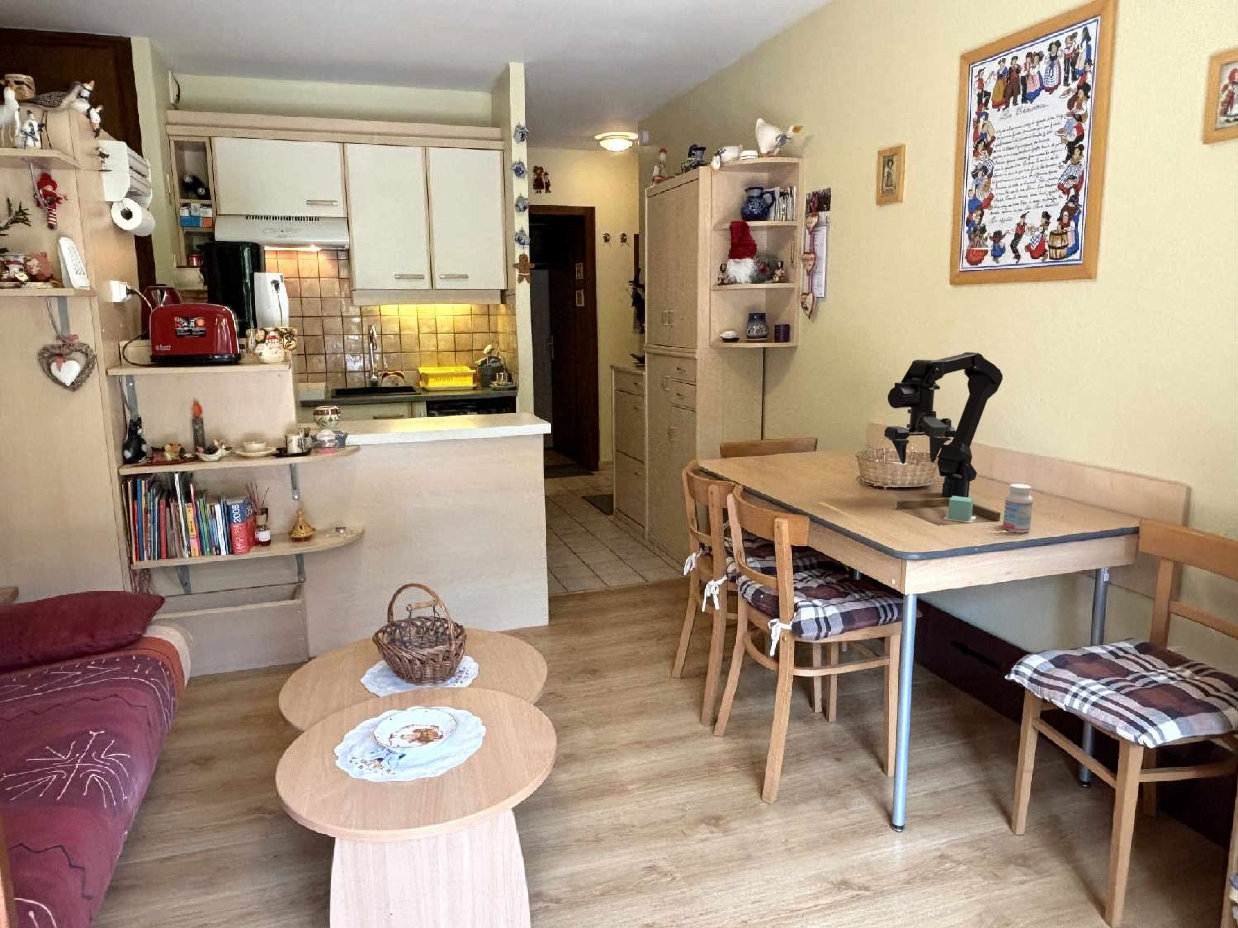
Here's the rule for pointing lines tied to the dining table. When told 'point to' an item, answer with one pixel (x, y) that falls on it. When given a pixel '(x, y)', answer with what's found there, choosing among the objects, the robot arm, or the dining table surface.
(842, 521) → the dining table surface
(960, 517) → the teal block
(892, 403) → the robot arm
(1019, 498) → the pill bottle
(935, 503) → the arena
